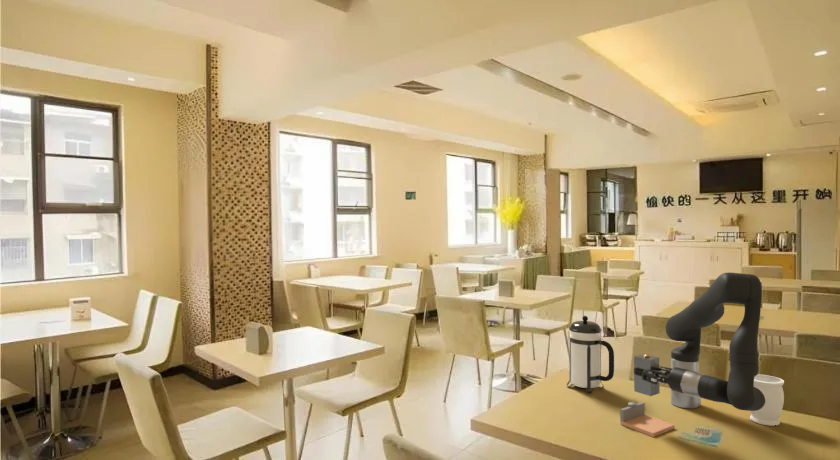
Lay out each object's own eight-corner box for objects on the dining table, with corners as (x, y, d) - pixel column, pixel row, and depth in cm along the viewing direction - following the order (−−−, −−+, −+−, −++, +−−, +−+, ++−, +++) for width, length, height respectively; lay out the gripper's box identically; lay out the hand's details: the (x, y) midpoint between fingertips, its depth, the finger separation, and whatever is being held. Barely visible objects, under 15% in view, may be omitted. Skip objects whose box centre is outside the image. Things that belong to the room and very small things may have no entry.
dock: (638, 415, 177) (639, 399, 177) (674, 428, 166) (674, 410, 166) (618, 423, 171) (618, 406, 171) (653, 437, 160) (653, 418, 160)
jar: (779, 418, 174) (780, 375, 174) (787, 429, 165) (787, 384, 164) (743, 413, 179) (744, 372, 178) (749, 424, 169) (749, 380, 169)
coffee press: (569, 393, 200) (569, 319, 200) (564, 380, 216) (564, 312, 215) (614, 395, 197) (614, 320, 197) (606, 382, 213) (606, 313, 212)
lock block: (643, 388, 172) (642, 352, 172) (659, 393, 167) (659, 355, 167) (634, 391, 169) (634, 354, 169) (650, 396, 164) (650, 358, 164)
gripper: (701, 366, 160) (651, 355, 174) (675, 374, 152) (626, 361, 166) (701, 390, 160) (651, 376, 174) (676, 399, 152) (626, 384, 166)
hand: (639, 369), depth 170 cm, fingers closed on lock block, 5 cm apart
